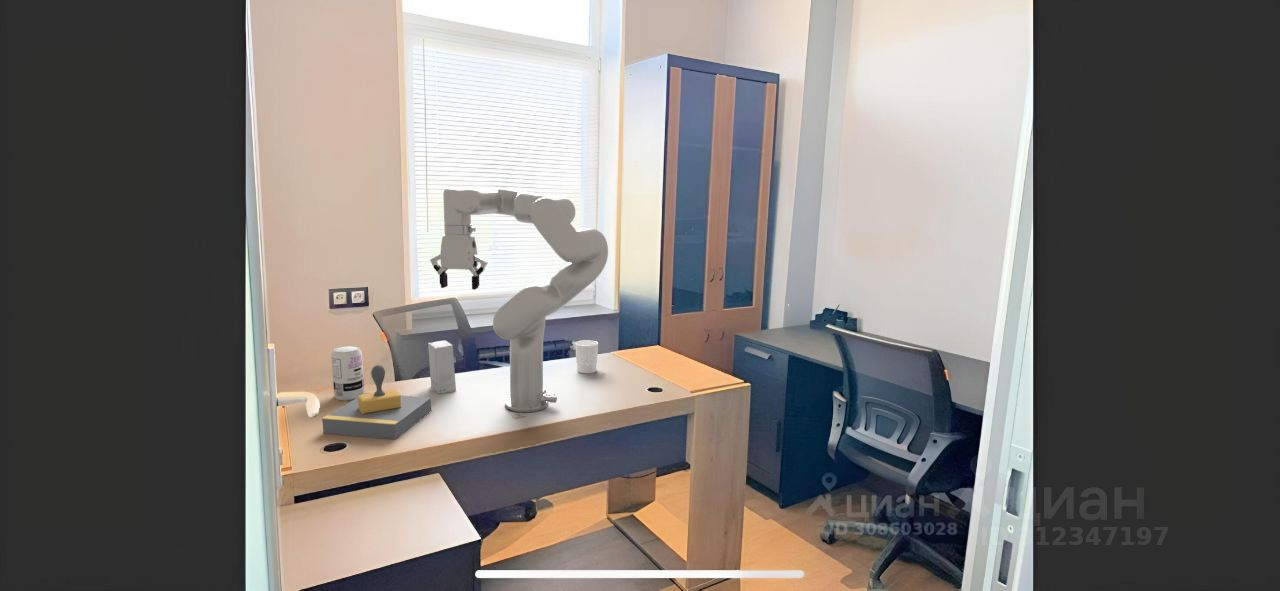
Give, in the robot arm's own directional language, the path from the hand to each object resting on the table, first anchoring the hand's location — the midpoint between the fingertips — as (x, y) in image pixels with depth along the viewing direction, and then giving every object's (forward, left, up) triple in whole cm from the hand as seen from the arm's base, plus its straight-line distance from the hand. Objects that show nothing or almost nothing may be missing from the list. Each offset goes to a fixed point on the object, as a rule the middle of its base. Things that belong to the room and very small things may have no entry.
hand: (459, 288), depth 189 cm
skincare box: (+8, -3, -34) cm, 35 cm away
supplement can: (+32, +9, -34) cm, 47 cm away
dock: (+13, +25, -33) cm, 44 cm away
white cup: (-32, -31, -34) cm, 56 cm away
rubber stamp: (+13, +25, -30) cm, 41 cm away
